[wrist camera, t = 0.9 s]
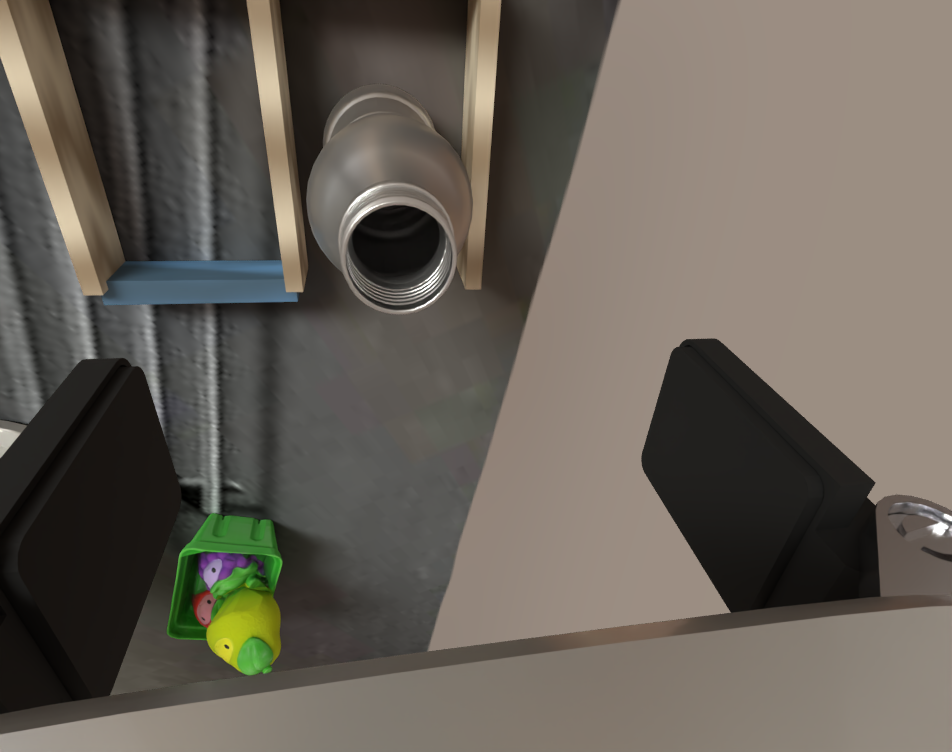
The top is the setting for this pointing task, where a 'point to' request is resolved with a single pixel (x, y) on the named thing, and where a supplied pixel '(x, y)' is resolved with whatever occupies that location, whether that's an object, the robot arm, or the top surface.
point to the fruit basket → (230, 592)
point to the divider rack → (188, 282)
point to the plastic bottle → (389, 200)
